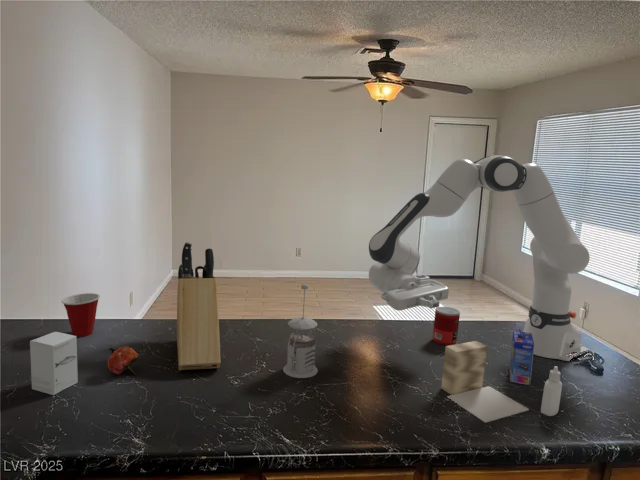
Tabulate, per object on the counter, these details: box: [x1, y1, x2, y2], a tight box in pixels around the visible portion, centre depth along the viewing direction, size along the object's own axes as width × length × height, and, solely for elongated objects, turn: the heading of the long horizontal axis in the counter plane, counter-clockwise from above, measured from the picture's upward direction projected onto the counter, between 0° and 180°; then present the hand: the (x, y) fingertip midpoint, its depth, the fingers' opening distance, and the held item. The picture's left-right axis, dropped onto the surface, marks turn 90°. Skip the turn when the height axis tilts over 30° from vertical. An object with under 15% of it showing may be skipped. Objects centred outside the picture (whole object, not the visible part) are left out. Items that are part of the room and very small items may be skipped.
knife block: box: [176, 241, 221, 371], centre depth 143 cm, size 11×35×31 cm, turn 17°
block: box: [440, 340, 488, 395], centre depth 130 cm, size 11×4×12 cm, turn 118°
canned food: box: [432, 306, 461, 346], centre depth 163 cm, size 8×8×11 cm
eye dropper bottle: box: [540, 365, 563, 417], centre depth 120 cm, size 4×6×12 cm
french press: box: [282, 283, 318, 379], centre depth 133 cm, size 10×12×25 cm
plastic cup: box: [61, 292, 101, 338], centre depth 152 cm, size 11×11×12 cm
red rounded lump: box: [107, 346, 139, 376], centre depth 128 cm, size 7×7×10 cm
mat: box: [447, 385, 530, 424], centre depth 123 cm, size 15×13×1 cm
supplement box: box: [29, 331, 79, 396], centre depth 118 cm, size 7×7×13 cm
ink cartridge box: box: [508, 326, 534, 386], centre depth 138 cm, size 10×6×14 cm, turn 161°
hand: (435, 305), depth 139 cm, fingers closed
